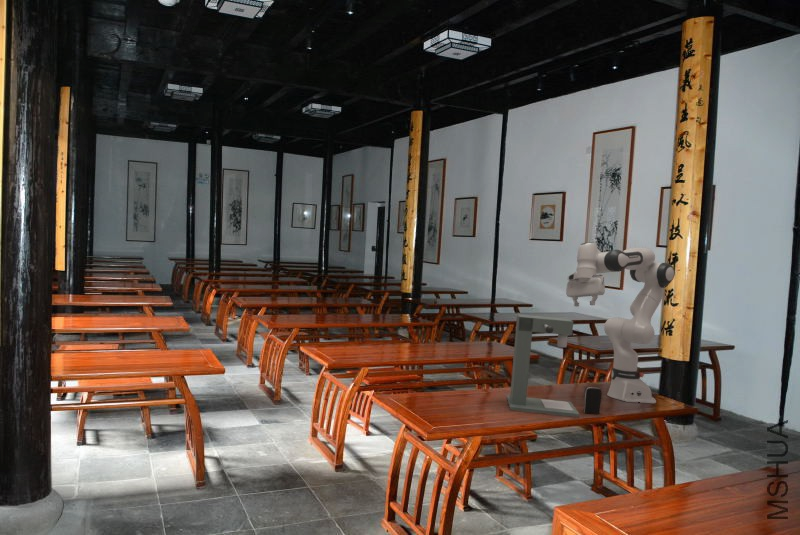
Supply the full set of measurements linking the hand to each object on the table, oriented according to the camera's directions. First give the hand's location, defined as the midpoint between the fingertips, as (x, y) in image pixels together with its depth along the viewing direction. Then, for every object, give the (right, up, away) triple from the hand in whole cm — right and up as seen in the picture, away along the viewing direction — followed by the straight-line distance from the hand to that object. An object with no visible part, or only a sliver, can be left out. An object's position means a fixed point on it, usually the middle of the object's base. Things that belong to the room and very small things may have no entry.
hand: (584, 305), depth 269 cm
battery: (0, -47, -10) cm, 48 cm away
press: (-22, -45, -11) cm, 51 cm away
